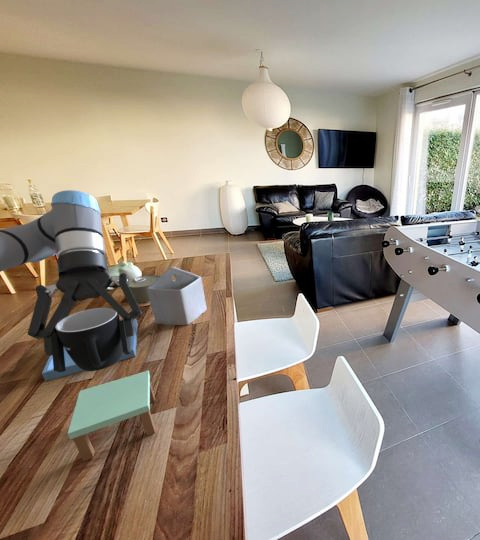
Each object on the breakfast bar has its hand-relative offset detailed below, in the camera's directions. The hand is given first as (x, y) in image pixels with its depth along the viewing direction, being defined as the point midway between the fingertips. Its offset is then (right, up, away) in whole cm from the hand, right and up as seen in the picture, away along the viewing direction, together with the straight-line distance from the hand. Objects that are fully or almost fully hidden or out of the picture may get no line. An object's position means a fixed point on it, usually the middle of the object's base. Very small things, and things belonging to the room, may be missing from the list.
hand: (95, 361), depth 54 cm
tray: (-28, -6, +31) cm, 43 cm away
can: (-37, +6, +63) cm, 73 cm away
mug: (-2, -2, +4) cm, 5 cm away
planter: (-12, -1, +48) cm, 49 cm away
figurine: (-56, +11, +72) cm, 92 cm away
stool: (-1, -17, +8) cm, 19 cm away
